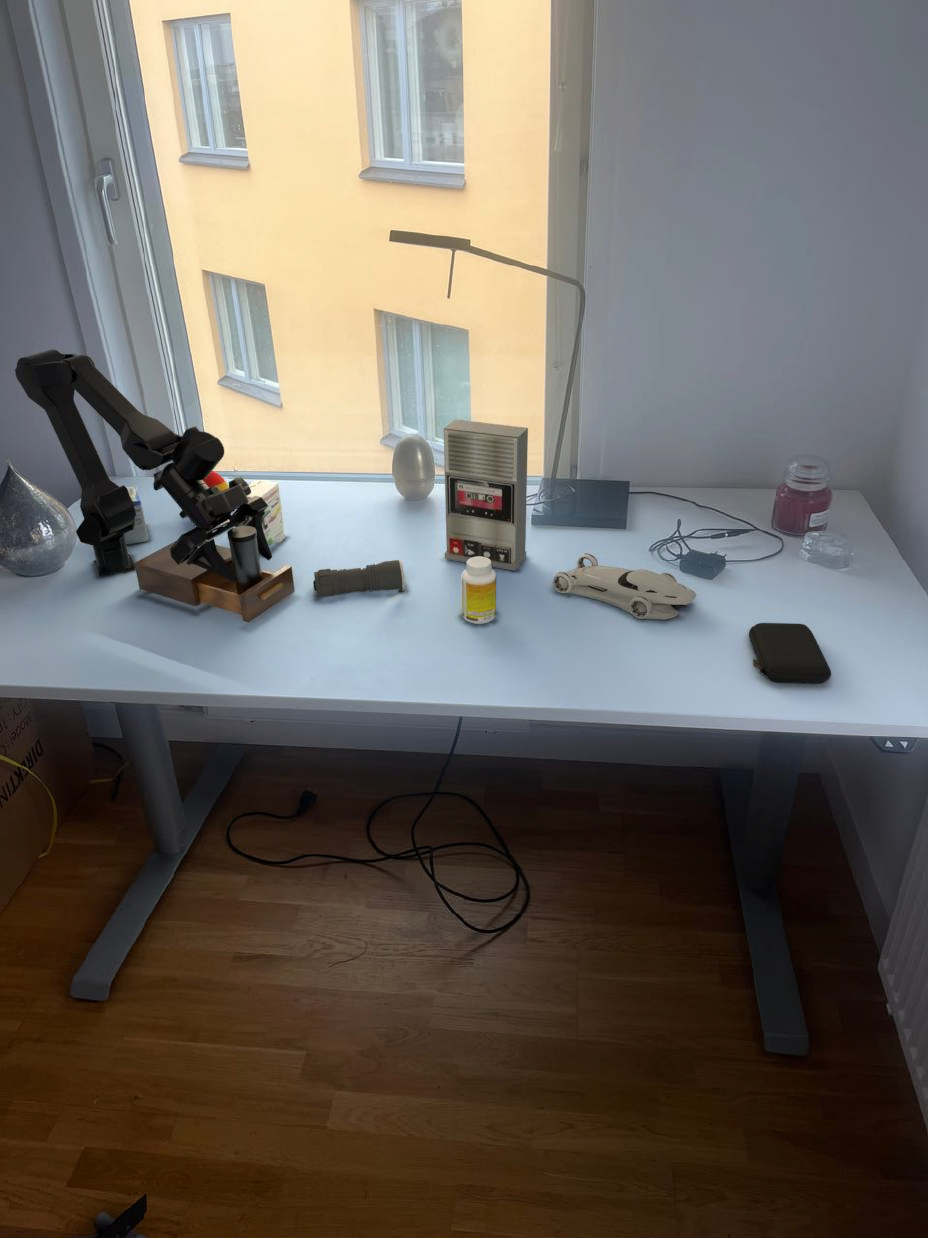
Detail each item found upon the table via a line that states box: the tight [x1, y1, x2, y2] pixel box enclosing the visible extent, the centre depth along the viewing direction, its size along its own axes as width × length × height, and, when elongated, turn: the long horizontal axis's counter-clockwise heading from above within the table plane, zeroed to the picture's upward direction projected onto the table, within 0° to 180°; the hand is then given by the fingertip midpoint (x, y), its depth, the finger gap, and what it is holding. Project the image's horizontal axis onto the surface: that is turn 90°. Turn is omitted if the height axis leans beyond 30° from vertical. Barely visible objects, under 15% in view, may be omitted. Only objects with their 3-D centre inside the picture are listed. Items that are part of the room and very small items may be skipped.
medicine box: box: [124, 486, 149, 545], centre depth 182 cm, size 8×4×9 cm, turn 23°
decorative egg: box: [203, 470, 229, 491], centre depth 188 cm, size 8×8×10 cm
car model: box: [552, 552, 697, 621], centre depth 158 cm, size 11×24×5 cm, turn 55°
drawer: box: [196, 561, 296, 623], centre depth 157 cm, size 14×12×6 cm
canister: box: [226, 526, 262, 595], centre depth 154 cm, size 5×5×13 cm
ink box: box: [237, 479, 286, 547], centre depth 176 cm, size 8×5×12 cm, turn 163°
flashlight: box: [312, 559, 406, 598], centre depth 160 cm, size 15×5×5 cm, turn 102°
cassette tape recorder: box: [443, 419, 529, 572], centre depth 166 cm, size 14×6×25 cm, turn 68°
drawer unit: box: [133, 540, 232, 607], centre depth 162 cm, size 13×12×6 cm
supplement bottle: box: [461, 556, 497, 625], centre depth 152 cm, size 6×6×10 cm
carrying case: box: [748, 622, 832, 685], centre depth 141 cm, size 11×3×15 cm
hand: (253, 569), depth 154 cm, fingers open, 8 cm apart
